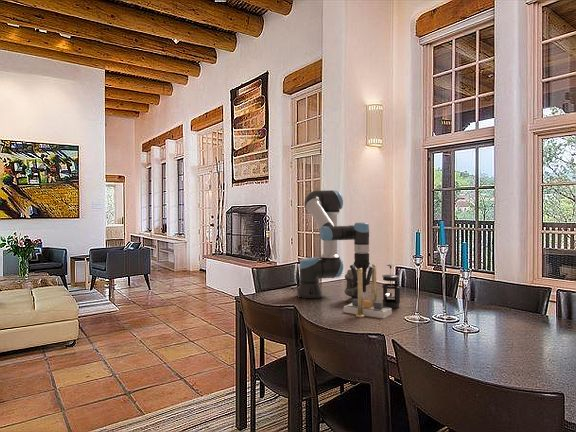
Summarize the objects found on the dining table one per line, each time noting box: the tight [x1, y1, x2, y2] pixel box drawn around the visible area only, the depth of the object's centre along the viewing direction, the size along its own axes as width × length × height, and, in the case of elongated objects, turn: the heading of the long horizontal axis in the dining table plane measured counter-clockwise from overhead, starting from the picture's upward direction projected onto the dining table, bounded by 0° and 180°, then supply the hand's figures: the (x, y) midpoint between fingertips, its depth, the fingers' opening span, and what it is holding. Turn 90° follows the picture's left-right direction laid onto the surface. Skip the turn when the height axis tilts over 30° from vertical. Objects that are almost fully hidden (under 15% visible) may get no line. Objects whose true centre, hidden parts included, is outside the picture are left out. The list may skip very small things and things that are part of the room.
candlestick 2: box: [371, 263, 377, 305], centre depth 220 cm, size 4×4×24 cm
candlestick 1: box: [355, 268, 366, 319], centre depth 208 cm, size 4×4×24 cm
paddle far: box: [374, 301, 383, 309], centre depth 211 cm, size 4×2×3 cm, turn 53°
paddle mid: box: [363, 299, 372, 308], centre depth 214 cm, size 4×2×3 cm, turn 53°
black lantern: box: [381, 264, 401, 310], centre depth 226 cm, size 12×9×23 cm
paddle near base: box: [352, 299, 358, 306], centre depth 218 cm, size 4×2×3 cm, turn 53°
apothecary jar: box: [343, 268, 366, 304], centre depth 242 cm, size 12×12×18 cm
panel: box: [343, 303, 393, 319], centre depth 214 cm, size 22×10×3 cm, turn 53°
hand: (362, 298), depth 216 cm, fingers closed
